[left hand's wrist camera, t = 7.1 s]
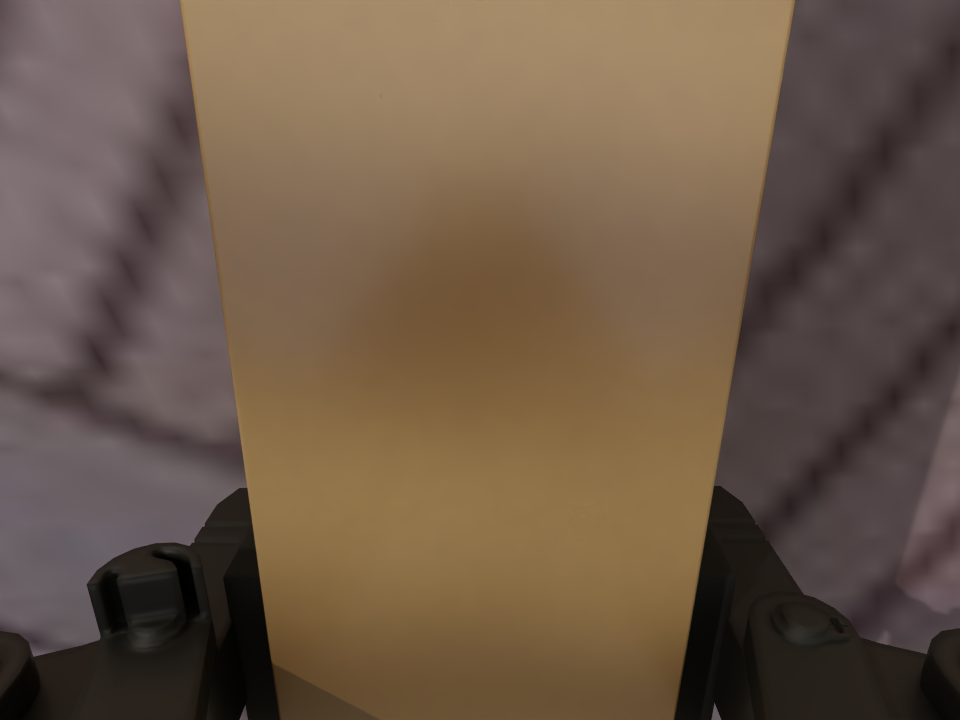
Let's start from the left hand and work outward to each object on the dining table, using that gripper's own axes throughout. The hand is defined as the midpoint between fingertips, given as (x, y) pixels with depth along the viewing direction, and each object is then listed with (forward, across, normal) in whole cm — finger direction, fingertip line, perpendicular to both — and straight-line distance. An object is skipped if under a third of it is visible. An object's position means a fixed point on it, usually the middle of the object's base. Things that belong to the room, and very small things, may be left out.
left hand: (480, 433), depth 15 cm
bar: (+1, 0, -26) cm, 27 cm away
